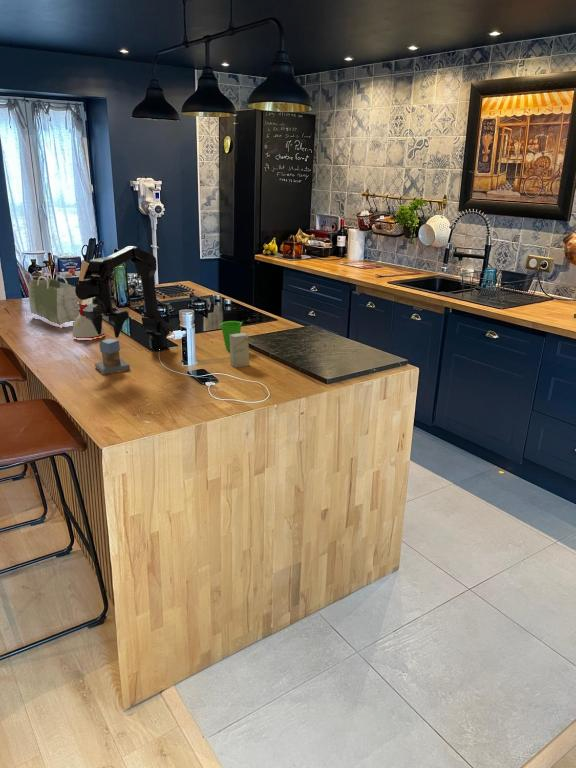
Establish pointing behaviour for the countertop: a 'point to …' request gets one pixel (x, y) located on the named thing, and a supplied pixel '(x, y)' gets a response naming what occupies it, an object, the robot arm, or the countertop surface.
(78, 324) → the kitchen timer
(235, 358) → the skincare box
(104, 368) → the slate pad
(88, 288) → the robot arm
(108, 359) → the walnut cube
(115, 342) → the slate block
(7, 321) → the countertop surface
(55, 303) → the grocery bag
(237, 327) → the cup
